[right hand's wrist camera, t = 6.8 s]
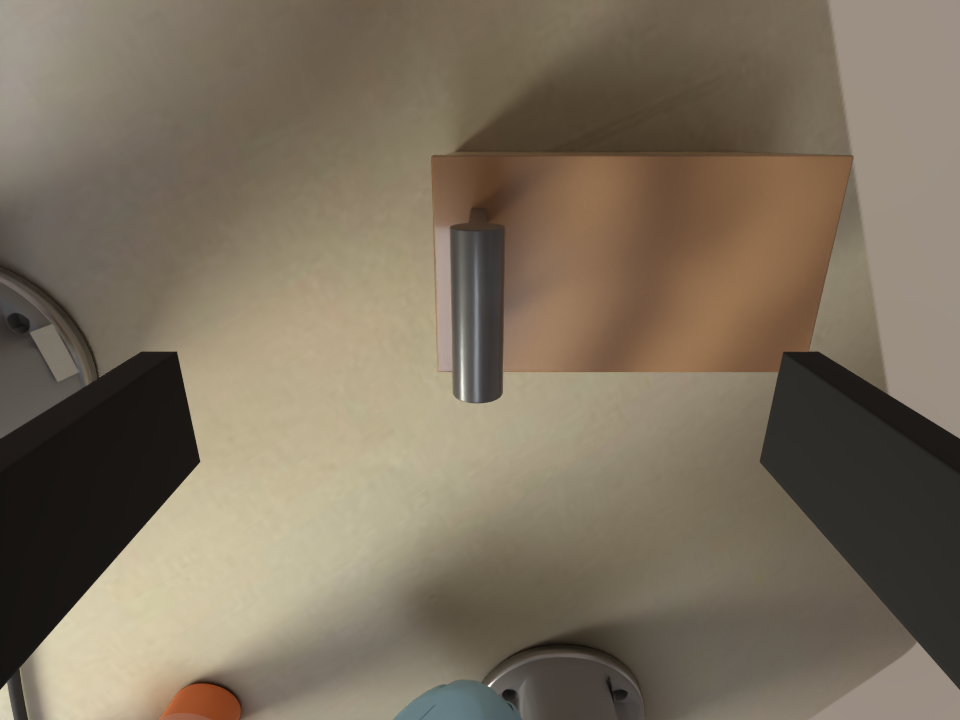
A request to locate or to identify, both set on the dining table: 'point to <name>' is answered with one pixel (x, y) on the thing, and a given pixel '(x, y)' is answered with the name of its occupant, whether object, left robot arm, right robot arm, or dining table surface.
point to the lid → (628, 262)
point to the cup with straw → (203, 704)
